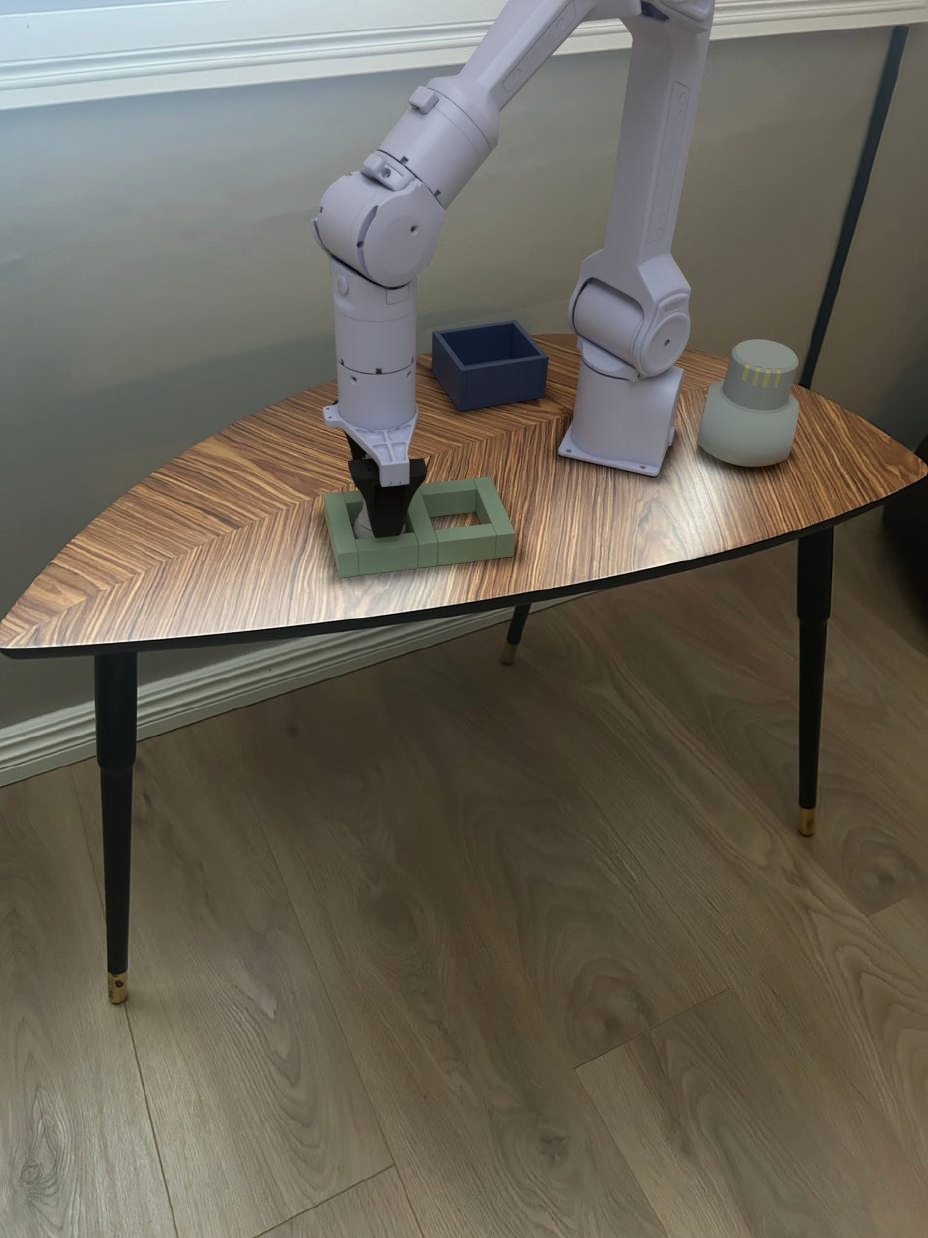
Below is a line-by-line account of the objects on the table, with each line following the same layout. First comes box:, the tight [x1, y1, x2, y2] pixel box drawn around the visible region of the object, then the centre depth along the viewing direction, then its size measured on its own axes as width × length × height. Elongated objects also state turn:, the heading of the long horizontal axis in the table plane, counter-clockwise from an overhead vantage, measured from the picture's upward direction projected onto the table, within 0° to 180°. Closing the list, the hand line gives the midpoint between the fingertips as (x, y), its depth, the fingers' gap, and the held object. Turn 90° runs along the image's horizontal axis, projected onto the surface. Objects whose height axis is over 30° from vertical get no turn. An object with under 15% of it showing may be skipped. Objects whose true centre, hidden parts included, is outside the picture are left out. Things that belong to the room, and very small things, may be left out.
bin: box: [431, 319, 550, 412], centre depth 101 cm, size 9×8×4 cm
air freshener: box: [696, 338, 800, 468], centre depth 92 cm, size 11×8×10 cm
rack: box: [323, 476, 516, 579], centre depth 83 cm, size 14×8×2 cm, turn 104°
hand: (379, 508), depth 81 cm, fingers open, 6 cm apart
